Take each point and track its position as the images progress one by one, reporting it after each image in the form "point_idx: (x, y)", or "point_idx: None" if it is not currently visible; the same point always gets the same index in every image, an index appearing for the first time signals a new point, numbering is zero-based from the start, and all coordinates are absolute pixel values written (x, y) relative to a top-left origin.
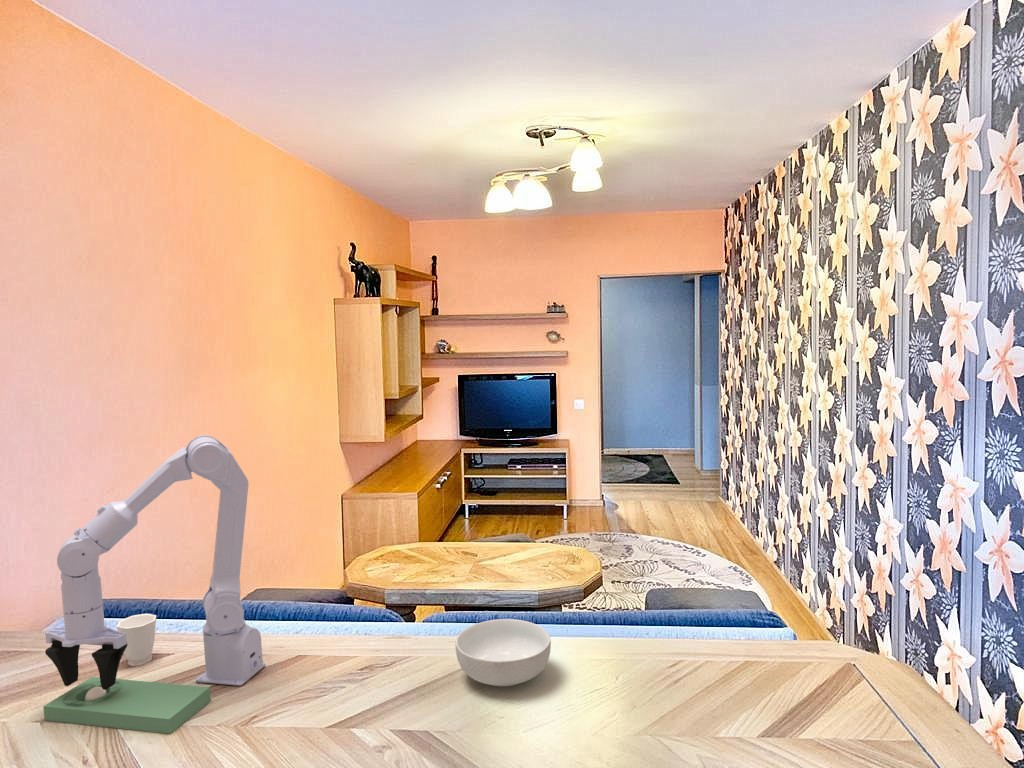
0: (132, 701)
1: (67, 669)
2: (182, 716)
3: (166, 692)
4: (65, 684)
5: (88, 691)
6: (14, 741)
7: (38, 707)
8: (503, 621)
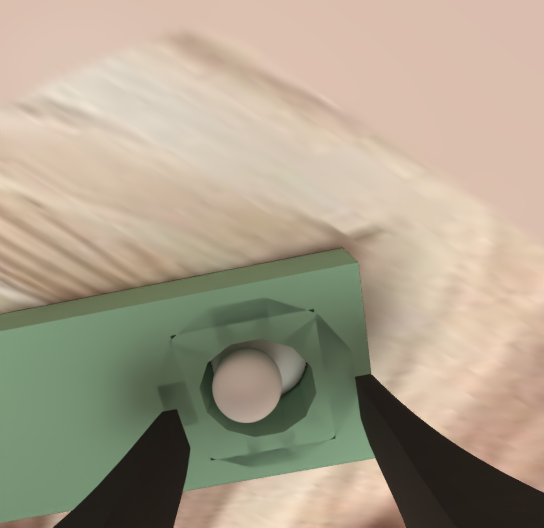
0: (50, 403)
1: (387, 444)
2: None
3: (6, 476)
4: (366, 378)
5: (260, 387)
6: (313, 113)
7: (446, 293)
8: None
